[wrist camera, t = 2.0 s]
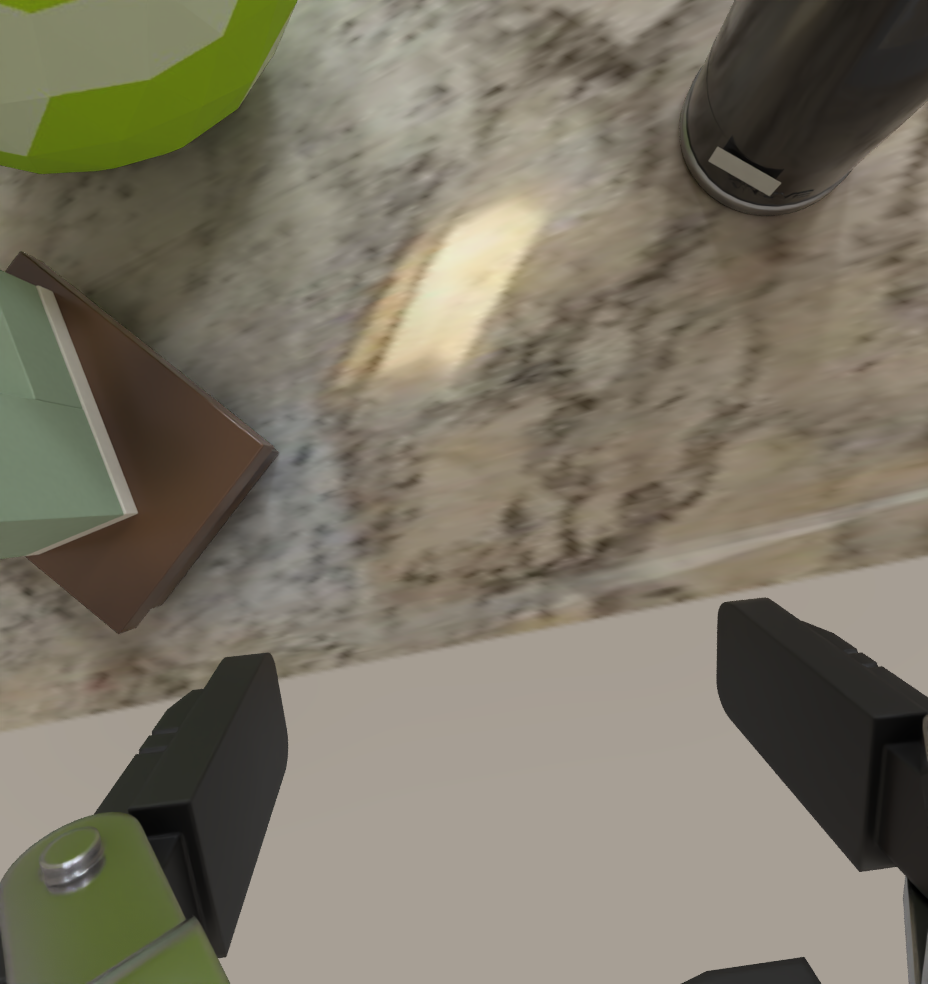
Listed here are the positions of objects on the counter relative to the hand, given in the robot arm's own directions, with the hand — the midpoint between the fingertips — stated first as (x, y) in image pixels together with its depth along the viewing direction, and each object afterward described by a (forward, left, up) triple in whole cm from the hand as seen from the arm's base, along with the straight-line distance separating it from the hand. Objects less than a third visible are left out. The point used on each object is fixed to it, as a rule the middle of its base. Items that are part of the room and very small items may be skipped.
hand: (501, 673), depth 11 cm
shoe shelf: (-1, -22, -22) cm, 31 cm away
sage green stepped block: (-2, -24, -18) cm, 30 cm away
